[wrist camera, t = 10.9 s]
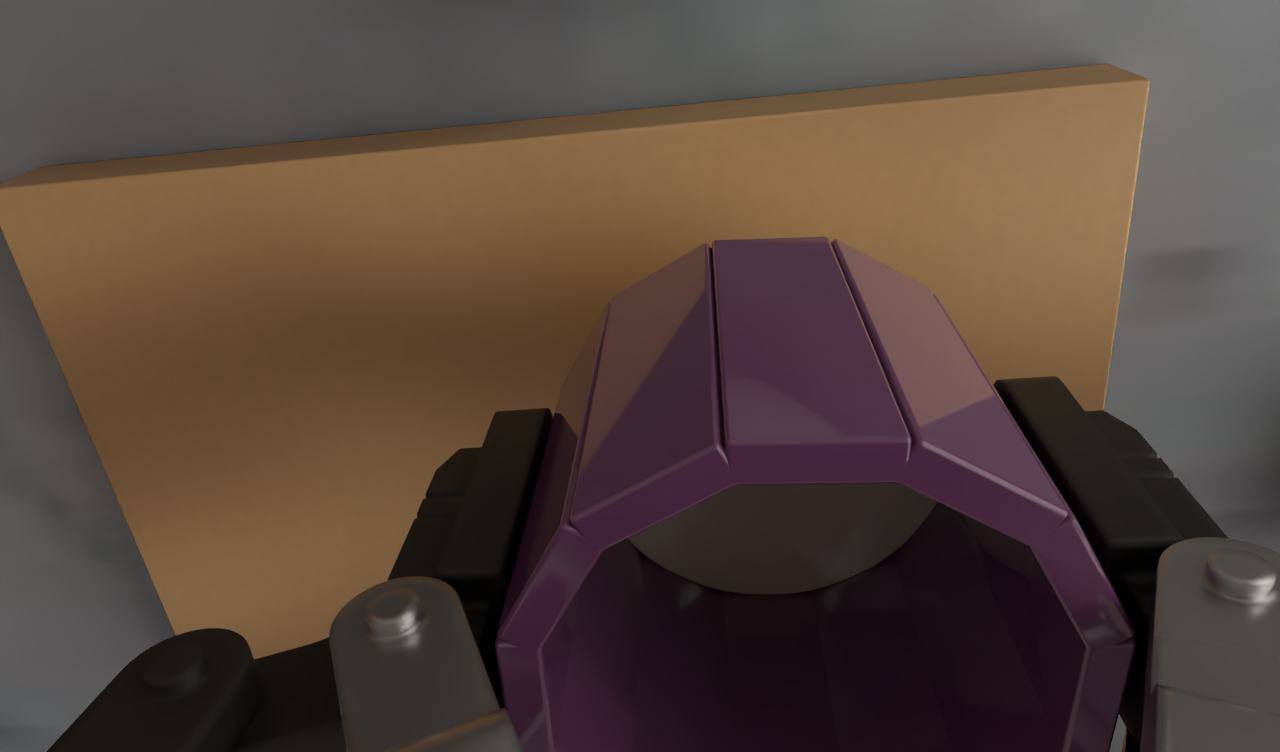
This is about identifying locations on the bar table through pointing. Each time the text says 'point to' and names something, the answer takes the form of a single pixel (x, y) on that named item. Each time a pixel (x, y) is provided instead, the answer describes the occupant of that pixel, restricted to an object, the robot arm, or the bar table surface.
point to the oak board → (512, 292)
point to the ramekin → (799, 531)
